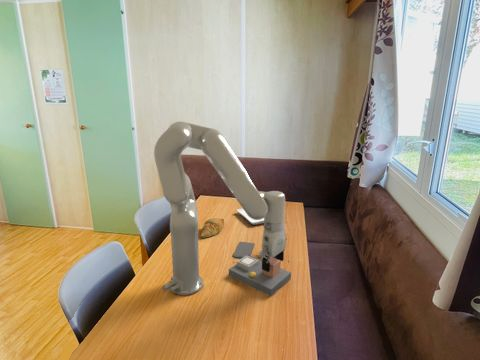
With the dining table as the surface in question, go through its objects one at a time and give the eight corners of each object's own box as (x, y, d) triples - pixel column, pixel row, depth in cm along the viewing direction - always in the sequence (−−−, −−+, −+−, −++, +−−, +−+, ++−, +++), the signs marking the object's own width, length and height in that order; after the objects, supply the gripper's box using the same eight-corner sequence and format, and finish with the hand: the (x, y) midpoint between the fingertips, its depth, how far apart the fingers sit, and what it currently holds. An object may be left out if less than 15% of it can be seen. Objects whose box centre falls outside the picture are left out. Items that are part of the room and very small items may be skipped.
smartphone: (255, 242, 149) (249, 258, 135) (255, 244, 150) (249, 260, 136) (239, 241, 151) (232, 256, 137) (239, 243, 151) (232, 258, 137)
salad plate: (235, 214, 185) (235, 208, 184) (266, 209, 194) (266, 204, 193) (251, 228, 167) (251, 222, 166) (285, 222, 176) (285, 216, 175)
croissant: (207, 247, 153) (213, 235, 149) (191, 234, 155) (197, 223, 151) (226, 229, 171) (232, 219, 168) (212, 218, 173) (218, 208, 170)
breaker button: (248, 269, 123) (248, 264, 122) (240, 265, 125) (240, 261, 125) (254, 264, 126) (254, 260, 125) (246, 261, 128) (246, 257, 128)
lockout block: (272, 277, 118) (273, 265, 116) (262, 272, 121) (262, 261, 119) (280, 271, 121) (280, 260, 120) (269, 267, 124) (269, 256, 123)
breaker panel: (270, 296, 111) (271, 284, 110) (228, 275, 123) (228, 264, 122) (290, 279, 122) (291, 268, 121) (250, 261, 134) (250, 251, 133)
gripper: (269, 235, 107) (268, 278, 111) (294, 219, 119) (292, 259, 124) (251, 229, 111) (251, 271, 116) (278, 214, 124) (276, 253, 129)
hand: (272, 265), depth 120 cm, fingers open, 9 cm apart
